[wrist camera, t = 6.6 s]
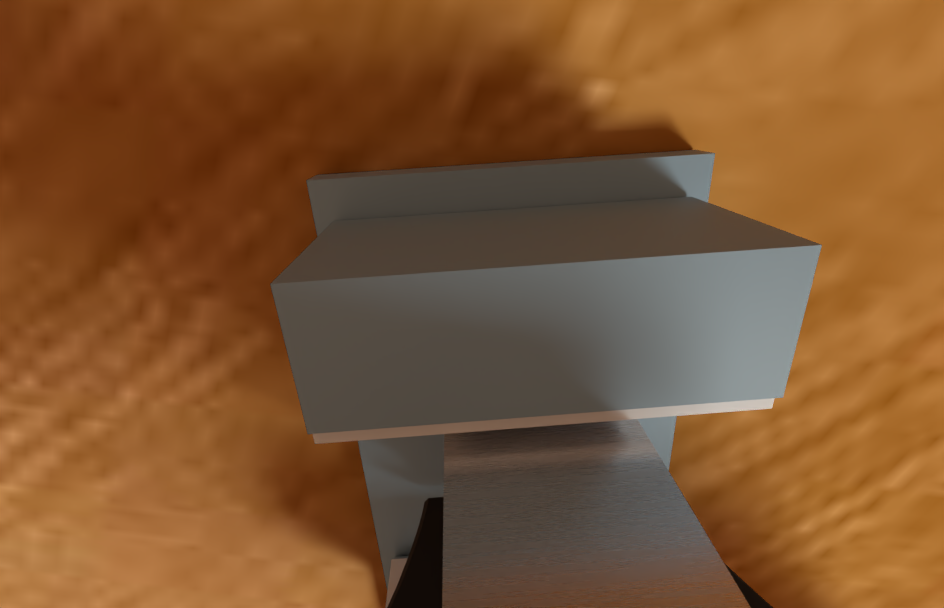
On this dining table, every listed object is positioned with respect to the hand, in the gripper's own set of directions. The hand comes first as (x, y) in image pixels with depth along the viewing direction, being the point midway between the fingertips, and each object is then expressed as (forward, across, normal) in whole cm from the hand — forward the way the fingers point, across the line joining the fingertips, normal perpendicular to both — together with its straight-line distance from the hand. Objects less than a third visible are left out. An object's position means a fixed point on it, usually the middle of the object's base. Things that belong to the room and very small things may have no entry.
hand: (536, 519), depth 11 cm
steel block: (+2, 0, 0) cm, 2 cm away
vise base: (+4, 0, +2) cm, 5 cm away
